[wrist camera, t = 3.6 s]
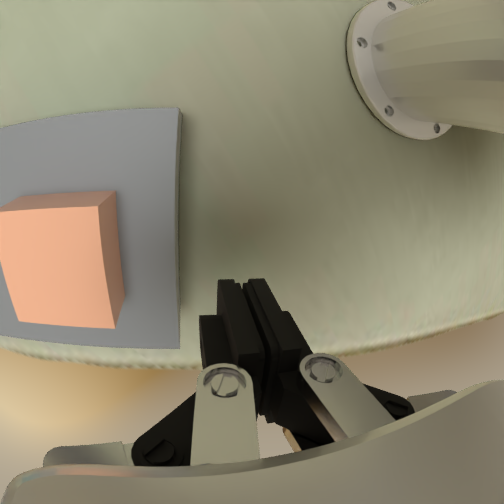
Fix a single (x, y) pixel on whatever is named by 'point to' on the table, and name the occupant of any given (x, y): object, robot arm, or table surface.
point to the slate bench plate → (127, 204)
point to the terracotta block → (63, 258)
